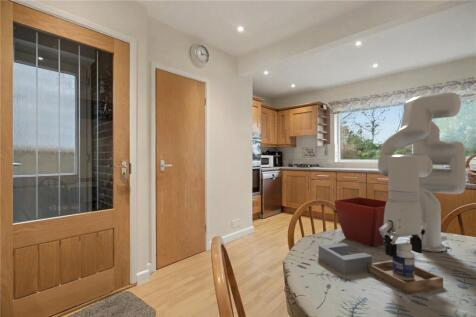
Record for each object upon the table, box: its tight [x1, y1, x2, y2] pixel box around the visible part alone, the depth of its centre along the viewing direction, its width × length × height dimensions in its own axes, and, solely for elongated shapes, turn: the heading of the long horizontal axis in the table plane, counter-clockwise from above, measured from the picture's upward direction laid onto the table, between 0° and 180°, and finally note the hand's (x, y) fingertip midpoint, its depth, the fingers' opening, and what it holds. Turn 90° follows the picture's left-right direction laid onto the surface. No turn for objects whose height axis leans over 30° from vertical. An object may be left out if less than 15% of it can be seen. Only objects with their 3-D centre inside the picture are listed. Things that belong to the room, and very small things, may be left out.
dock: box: [318, 242, 373, 276], centre depth 81 cm, size 10×13×4 cm
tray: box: [367, 259, 444, 295], centre depth 71 cm, size 13×13×2 cm
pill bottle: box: [392, 240, 416, 280], centre depth 71 cm, size 5×5×10 cm
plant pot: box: [334, 196, 392, 247], centre depth 105 cm, size 19×19×17 cm
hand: (403, 254), depth 71 cm, fingers open, 9 cm apart
